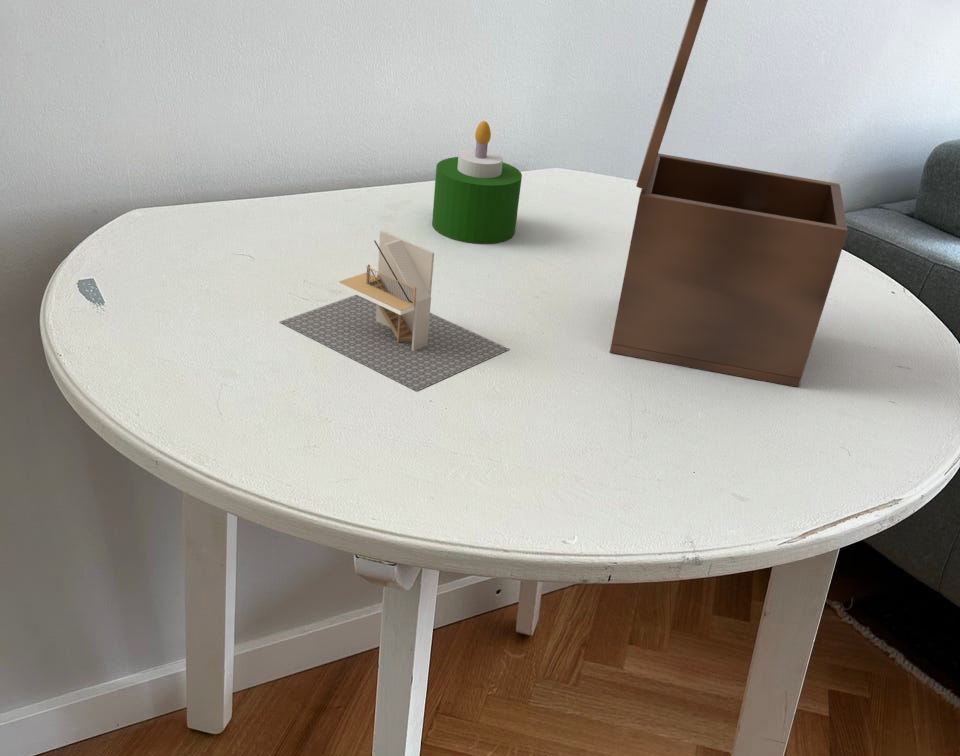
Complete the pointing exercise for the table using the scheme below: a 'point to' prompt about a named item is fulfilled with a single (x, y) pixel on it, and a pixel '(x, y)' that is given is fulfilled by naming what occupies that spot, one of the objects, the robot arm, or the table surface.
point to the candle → (476, 194)
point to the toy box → (729, 269)
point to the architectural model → (396, 321)
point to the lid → (671, 91)
